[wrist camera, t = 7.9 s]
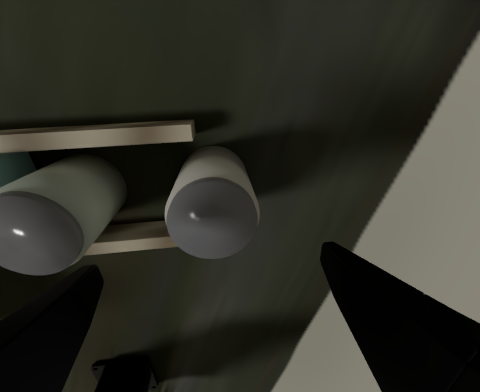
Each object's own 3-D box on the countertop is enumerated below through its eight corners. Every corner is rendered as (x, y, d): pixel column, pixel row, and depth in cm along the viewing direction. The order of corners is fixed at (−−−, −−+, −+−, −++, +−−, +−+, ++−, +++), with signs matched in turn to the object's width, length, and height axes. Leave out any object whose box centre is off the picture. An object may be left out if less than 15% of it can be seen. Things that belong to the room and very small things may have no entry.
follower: (26, 149, 15) (-32, 168, 12) (63, 227, 18) (25, 262, 14) (8, 150, 15) (-57, 170, 12) (47, 229, 18) (5, 264, 14)
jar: (247, 204, 19) (261, 256, 13) (185, 209, 19) (172, 265, 13) (245, 143, 17) (261, 173, 11) (175, 148, 16) (152, 181, 11)
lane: (193, 119, 16) (189, 125, 13) (207, 226, 20) (206, 248, 17) (-104, 135, 14) (-178, 147, 12) (-26, 247, 18) (-67, 274, 16)
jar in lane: (134, 213, 18) (95, 272, 13) (68, 218, 18) (-4, 282, 12) (116, 151, 16) (58, 188, 10) (40, 156, 16) (-65, 197, 10)
